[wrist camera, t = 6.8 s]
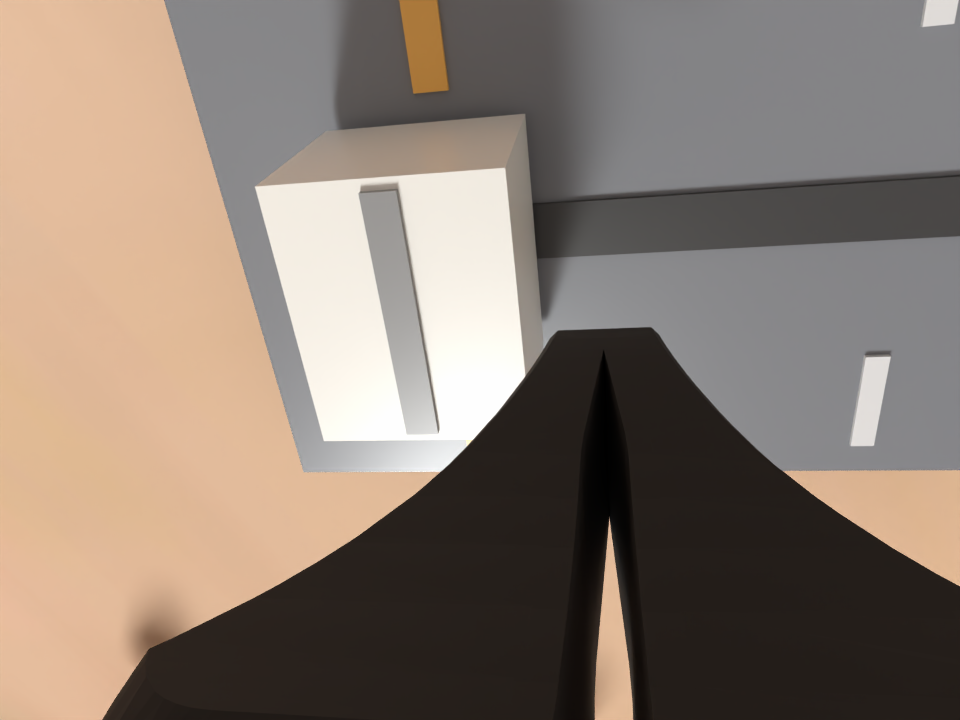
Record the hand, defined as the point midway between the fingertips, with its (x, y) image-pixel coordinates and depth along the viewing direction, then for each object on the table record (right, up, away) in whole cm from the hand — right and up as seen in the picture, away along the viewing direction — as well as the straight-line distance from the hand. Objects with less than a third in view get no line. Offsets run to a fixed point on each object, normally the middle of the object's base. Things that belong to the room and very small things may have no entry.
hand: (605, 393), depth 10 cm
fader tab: (-2, +3, +6) cm, 7 cm away
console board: (+3, +4, +7) cm, 8 cm away
